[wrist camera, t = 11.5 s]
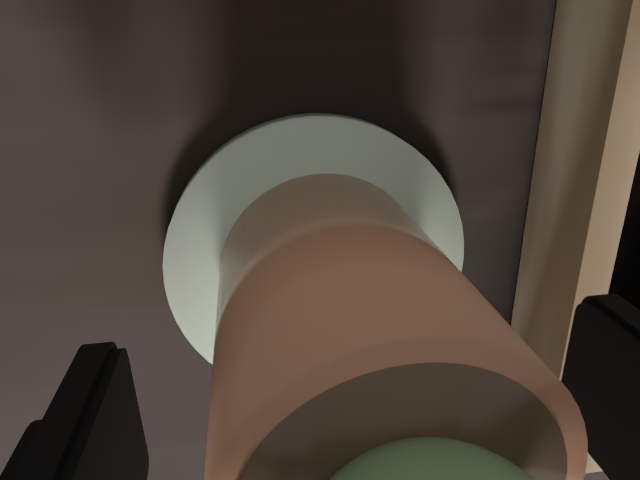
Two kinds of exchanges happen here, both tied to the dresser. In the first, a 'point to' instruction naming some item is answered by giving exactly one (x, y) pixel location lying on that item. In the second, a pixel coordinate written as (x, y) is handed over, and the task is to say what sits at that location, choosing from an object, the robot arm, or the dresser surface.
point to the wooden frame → (579, 171)
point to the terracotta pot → (370, 354)
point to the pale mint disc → (278, 167)
